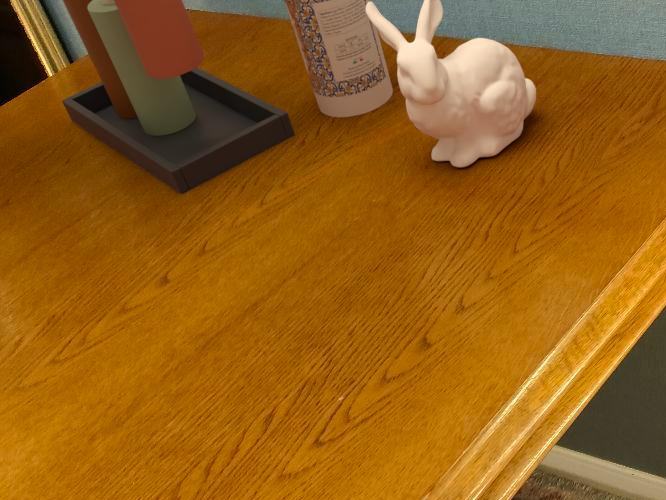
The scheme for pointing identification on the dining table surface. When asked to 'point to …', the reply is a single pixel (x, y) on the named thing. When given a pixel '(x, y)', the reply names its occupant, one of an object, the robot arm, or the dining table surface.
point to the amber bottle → (100, 57)
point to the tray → (188, 131)
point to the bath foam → (341, 55)
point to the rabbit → (459, 89)
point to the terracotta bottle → (161, 36)
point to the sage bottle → (142, 77)
